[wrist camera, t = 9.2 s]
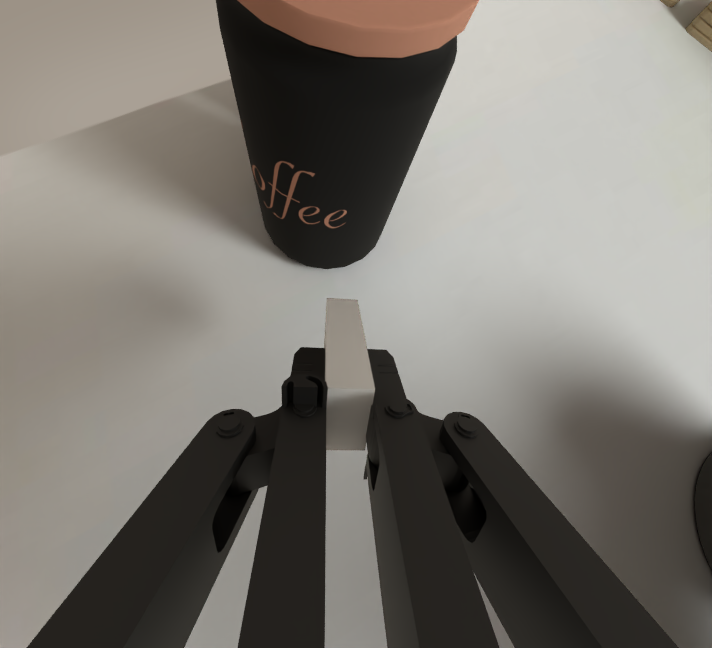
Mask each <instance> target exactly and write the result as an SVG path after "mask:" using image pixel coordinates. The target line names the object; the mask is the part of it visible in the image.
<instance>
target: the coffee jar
mask: <svg viewBox="0 0 712 648" xmlns="http://www.w3.org/2000/svg"><path fill="white" fill-rule="evenodd" d="M478 1H479V0H216V3H217V11H218V18H219V25H220V30H221V35H222V39H223V44H224V48H225V52H226V57H227V61H228V66H229V70H230V74H231V79H232V83H233V88H234V92H235V97H236V101H237V106H238V110H239V114H240V119H241V123H242V128H243V132H244V137H245V141H246V146H247V150H248V154H249V159H250V163H251V168H252V172H253V177H254V181H255V185H256V190H257V194H258V199H259V203H260V208H261V212H262V216H263V221H264V225H265V228H266V230H267V232H268V234H269V236H270V237H271V239H272V241H273V243H274V244H275V245H276V246H277V247H278V248H279V249H280V250H282V251H283V252H284V253H285V254H286V255H287V256H288V257H290V258H291V259H294V260H296V261H298V262H300V263H302V264H304V265H306V266H310V267H317V268H323V269H331V268H339V267H345V266H347V265H350V264H352V263H354V262H356V261H358V260H361V259H363V258H364V257H365V256H366V255H367V254H368V253H369V252H370V251H371V250H372V249H373V248H374V247H375V246H376V243H377V241H378V239H379V237H380V235H381V233H382V231H383V228H384V226H385V224H386V221H387V219H388V217H389V214H390V212H391V210H392V207H393V205H394V203H395V200H396V198H397V195H398V193H399V191H400V188H401V186H402V184H403V181H404V179H405V177H406V174H407V172H408V170H409V167H410V165H411V163H412V160H413V158H414V156H415V153H416V151H417V148H418V146H419V144H420V141H421V139H422V137H423V134H424V132H425V130H426V127H427V125H428V123H429V120H430V118H431V116H432V113H433V111H434V109H435V106H436V104H437V101H438V99H439V97H440V94H441V92H442V90H443V87H444V85H445V83H446V80H447V78H448V76H449V73H450V71H451V69H452V66H453V64H454V61H455V57H456V52H457V35H458V34H459V33H461V32H462V31H463V30H464V29H465V27H466V25H467V23H468V21H469V19H470V17H471V15H472V13H473V11H474V9H475V7H476V5H477V3H478Z"/></svg>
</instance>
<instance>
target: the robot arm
mask: <svg viewBox="0 0 712 648" xmlns="http://www.w3.org/2000/svg"><path fill="white" fill-rule="evenodd" d="M366 442H367V450H368V455H367V460H366V466H365V471H364V479H367V476H368V485H369V493H370V502H371V510H372V519H373V528H374V536H375V545H376V553H377V562H378V570H379V579H380V588H381V596H382V605H383V613H384V622H385V630H386V639H387V647H388V648H499V645H498V642H497V639H496V636H495V633H494V631H493V628H492V625H491V622H490V619H489V616H488V613H487V610H486V607H485V605H484V602H483V599H482V596H481V593H480V590H479V587H478V584H477V581H476V579H475V576H474V573H475V575H476V577H477V579H478V581H479V583H480V584H481V586H482V588H483V590H484V592H485V594H486V595H487V597H488V599H489V601H490V603H491V605H492V607H493V608H494V610H495V612H496V614H497V616H498V618H499V619H500V621H501V623H502V625H503V627H504V629H505V630H506V632H507V634H508V636H509V638H510V640H511V641H512V643H513V645H514V647H515V648H678V647H677V645H676V644H675V643H674V642H673V641H672V640H671V639H670V637H669V636H668V635H667V634H666V633H665V632H664V630H663V629H662V628H661V627H660V626H659V625H658V624H657V622H656V621H655V620H654V619H653V618H652V617H651V616H650V614H649V613H648V612H647V611H646V610H645V609H644V608H643V606H642V605H641V604H640V603H639V602H638V601H637V599H636V598H635V597H634V596H633V595H632V594H631V593H630V591H629V590H628V589H627V588H626V587H625V586H624V585H623V583H622V582H621V581H620V580H619V579H618V578H617V577H616V575H615V574H614V573H613V572H612V571H611V570H610V569H609V567H608V566H607V565H606V564H605V563H604V562H603V560H602V559H601V558H600V557H599V556H598V555H597V554H596V552H595V551H594V550H593V549H592V548H591V547H590V546H589V544H588V543H587V542H586V541H585V540H584V539H583V538H582V536H581V535H580V534H579V533H578V532H577V531H576V530H575V528H574V527H573V526H572V525H571V524H570V523H569V521H568V520H567V519H566V518H565V517H564V516H563V515H562V513H561V512H560V511H559V510H558V509H557V508H556V507H555V505H554V504H553V503H552V502H551V501H550V500H549V499H548V497H547V496H546V495H545V494H544V493H543V492H542V490H541V489H540V488H539V487H538V486H537V485H536V484H535V482H534V481H533V480H532V479H531V478H530V477H529V476H528V474H527V473H526V472H525V471H524V470H523V469H522V468H521V466H520V465H519V464H518V463H517V462H516V461H515V460H514V458H513V457H512V456H511V455H510V454H509V453H508V451H507V450H506V449H505V448H504V447H503V446H502V445H501V443H500V442H499V441H498V440H497V439H496V438H495V437H494V435H493V434H492V433H491V432H490V431H489V430H488V429H487V427H486V426H485V425H484V424H483V423H482V422H481V421H480V420H478V419H477V418H475V417H474V416H472V415H470V414H467V413H463V412H452V413H450V414H447V416H446V417H445V418H444V421H443V420H440V419H436V418H432V417H429V416H426V415H423V414H421V413H419V412H418V411H417V409H416V407H415V405H414V404H413V403H412V402H410V401H409V400H408V399H406V396H405V393H404V389H403V386H402V383H401V380H400V377H399V374H398V371H397V368H396V364H395V361H394V358H393V357H392V356H391V355H390V353H389V352H388V351H387V350H375V349H367V346H366V341H365V336H364V331H363V326H362V321H361V316H360V310H359V305H358V300H351V299H334V298H327V306H326V323H325V340H324V348H307V347H301V348H300V349H299V350H298V351H297V352H296V353H295V354H294V360H293V365H292V371H291V376H290V377H289V378H288V379H286V380H285V381H284V383H283V385H282V406H281V407H280V408H279V409H278V410H276V411H274V412H272V413H270V414H267V415H263V416H259V417H253V416H252V415H251V414H250V413H249V412H247V411H244V410H242V409H230V410H226V411H222V412H220V413H218V414H216V415H214V416H213V417H212V418H211V419H210V420H209V421H207V423H206V424H205V425H204V426H203V428H202V429H201V430H200V431H199V433H198V434H197V435H196V436H195V438H194V439H193V440H192V441H191V443H190V444H189V445H188V446H187V448H186V449H185V450H184V451H183V453H182V454H181V455H180V456H179V458H178V459H177V460H176V461H175V463H174V464H173V465H172V466H171V468H170V469H169V470H168V471H167V473H166V474H165V475H164V476H163V478H162V479H161V480H160V481H159V483H158V484H157V485H156V486H155V488H154V489H153V490H152V491H151V493H150V494H149V495H148V496H147V498H146V499H145V500H144V501H143V503H142V504H141V505H140V506H139V508H138V509H137V510H136V511H135V513H134V514H133V515H132V517H131V518H130V519H129V520H128V522H127V523H126V524H125V525H124V527H123V528H122V529H121V530H120V532H119V533H118V534H117V535H116V537H115V538H114V539H113V540H112V542H111V543H110V544H109V545H108V547H107V548H106V549H105V550H104V552H103V553H102V554H101V555H100V557H99V558H98V559H97V560H96V562H95V563H94V564H93V565H92V567H91V568H90V569H89V570H88V572H87V573H86V574H85V575H84V577H83V578H82V579H81V580H80V582H79V583H78V584H77V585H76V587H75V588H74V589H73V590H72V592H71V593H70V594H69V595H68V597H67V598H66V599H65V600H64V602H63V603H62V604H61V605H60V607H59V608H58V609H57V610H56V612H55V613H54V614H53V615H52V617H51V618H50V619H49V620H48V622H47V623H46V624H45V625H44V627H43V628H42V629H41V630H40V632H39V633H38V634H37V635H36V637H35V638H34V639H33V640H32V642H31V643H30V644H29V645H28V647H27V648H184V646H185V644H186V642H187V640H188V638H189V636H190V634H191V632H192V630H193V627H194V625H195V623H196V621H197V619H198V617H199V615H200V613H201V610H202V608H203V606H204V604H205V602H206V600H207V598H208V596H209V593H210V591H211V589H212V587H213V585H214V583H215V581H216V579H217V576H218V574H219V572H220V570H221V568H222V566H223V564H224V562H225V559H226V557H227V555H228V553H229V551H230V549H231V547H232V545H233V542H234V540H235V538H236V536H237V534H238V532H239V530H240V528H241V525H242V523H243V521H244V519H245V517H246V515H247V513H248V511H249V508H250V506H251V504H252V502H253V500H254V498H255V496H256V494H257V492H258V488H261V487H264V486H267V485H268V487H267V492H266V498H265V503H264V508H263V514H262V519H261V525H260V530H259V535H258V541H257V546H256V552H255V557H254V562H253V568H252V573H251V578H250V584H249V589H248V595H247V600H246V605H245V611H244V616H243V622H242V627H241V632H240V638H239V643H238V648H324V642H325V520H326V450H365V446H366ZM695 514H696V522H697V528H698V533H699V537H700V541H701V544H702V547H703V550H704V553H705V556H706V558H707V561H708V563H709V565H710V568H711V570H712V454H711V455H710V456H709V457H708V458H707V460H706V461H705V463H704V465H703V467H702V469H701V471H700V474H699V477H698V481H697V486H696V493H695ZM473 572H474V573H473Z"/></svg>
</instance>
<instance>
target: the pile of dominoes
mask: <svg viewBox="0 0 712 648" xmlns="http://www.w3.org/2000/svg"><path fill="white" fill-rule="evenodd" d="M660 1H661V2H663V3H664V4H665V5H666V6H668V7H673V6H674V5H675V4H677V3H678V2H679V1H680V0H660ZM686 31H687V32H688V33H689V34H690V35H691V36H693V37H694V38H695V39H696V40H698V41H699V42H700V43H701V44H703V45H704V46H705V47H706V48H708V49H709V50H710V51H711V52H712V2H711V3H710V4H709V5H708V6H707V7H706V8H705V9H704V10H703V11H702V12H701V13H700V14H699V15H698V16H697V17H696V18H695V19H694V20H693V21H692V23H691V24H690V25H689V26H688V27H687V28H686Z"/></svg>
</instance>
